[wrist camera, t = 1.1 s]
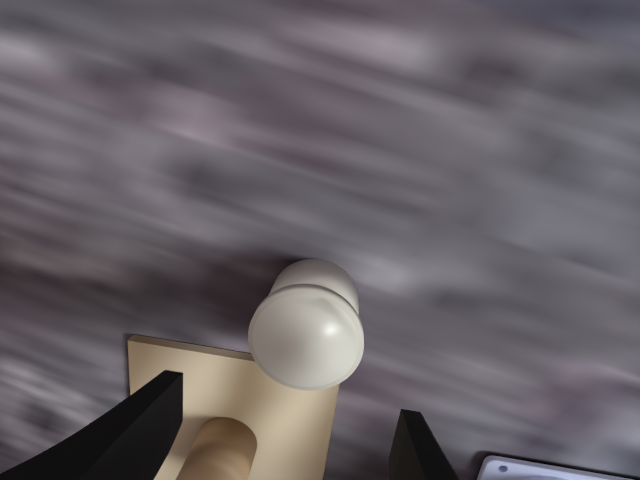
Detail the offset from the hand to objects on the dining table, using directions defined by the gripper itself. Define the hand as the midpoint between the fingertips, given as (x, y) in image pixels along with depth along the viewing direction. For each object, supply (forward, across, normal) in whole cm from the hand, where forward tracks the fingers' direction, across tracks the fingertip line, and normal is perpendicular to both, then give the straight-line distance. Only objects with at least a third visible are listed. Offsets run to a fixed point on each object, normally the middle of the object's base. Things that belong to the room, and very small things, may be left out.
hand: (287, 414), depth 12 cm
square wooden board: (+8, +4, +10) cm, 14 cm away
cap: (+8, 0, 0) cm, 8 cm away
